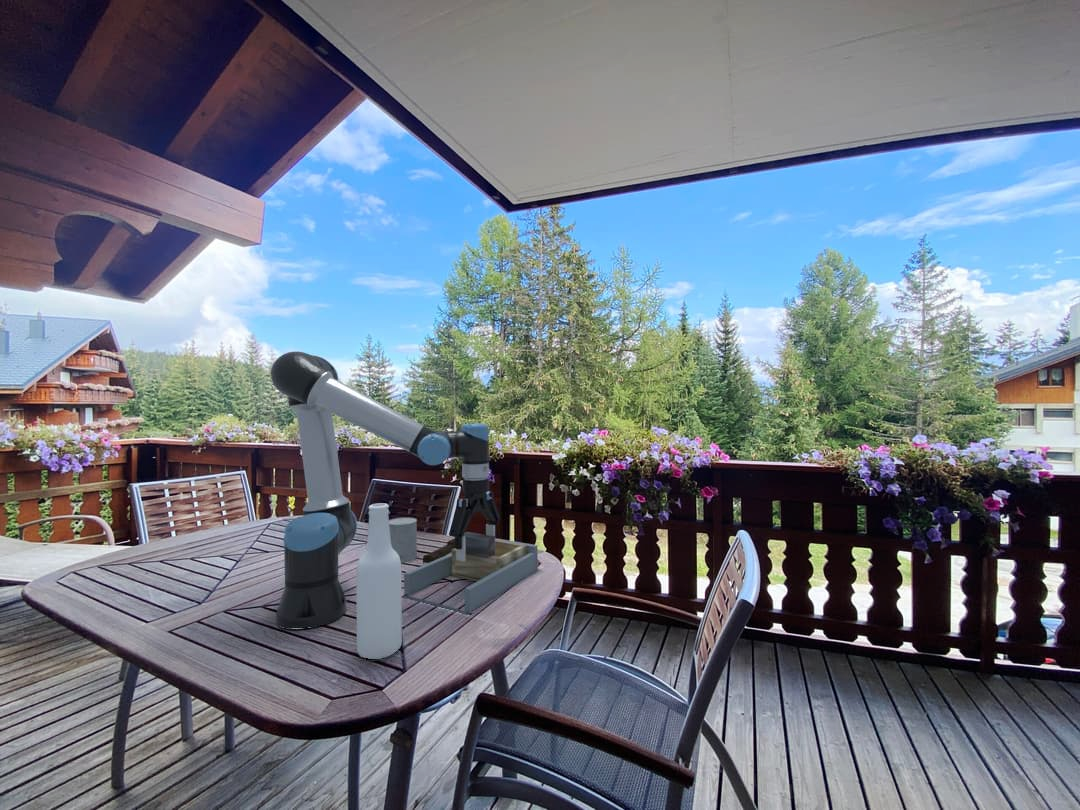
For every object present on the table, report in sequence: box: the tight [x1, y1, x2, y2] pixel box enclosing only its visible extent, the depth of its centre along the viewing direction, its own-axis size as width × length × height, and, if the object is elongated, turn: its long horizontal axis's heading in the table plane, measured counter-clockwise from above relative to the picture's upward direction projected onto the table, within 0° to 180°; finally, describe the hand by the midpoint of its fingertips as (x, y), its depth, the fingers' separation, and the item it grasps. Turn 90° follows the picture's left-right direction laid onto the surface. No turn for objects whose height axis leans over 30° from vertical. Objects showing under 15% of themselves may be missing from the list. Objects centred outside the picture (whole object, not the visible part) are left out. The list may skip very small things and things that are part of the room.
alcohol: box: [355, 502, 403, 659], centre depth 95 cm, size 9×9×30 cm
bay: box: [403, 537, 539, 617], centre depth 129 cm, size 32×22×8 cm
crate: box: [451, 531, 527, 582], centre depth 134 cm, size 15×17×12 cm
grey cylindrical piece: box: [389, 517, 418, 563], centre depth 153 cm, size 10×10×12 cm
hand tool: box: [422, 537, 455, 564], centre depth 153 cm, size 19×4×5 cm, turn 156°
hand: (476, 553), depth 129 cm, fingers open, 13 cm apart
